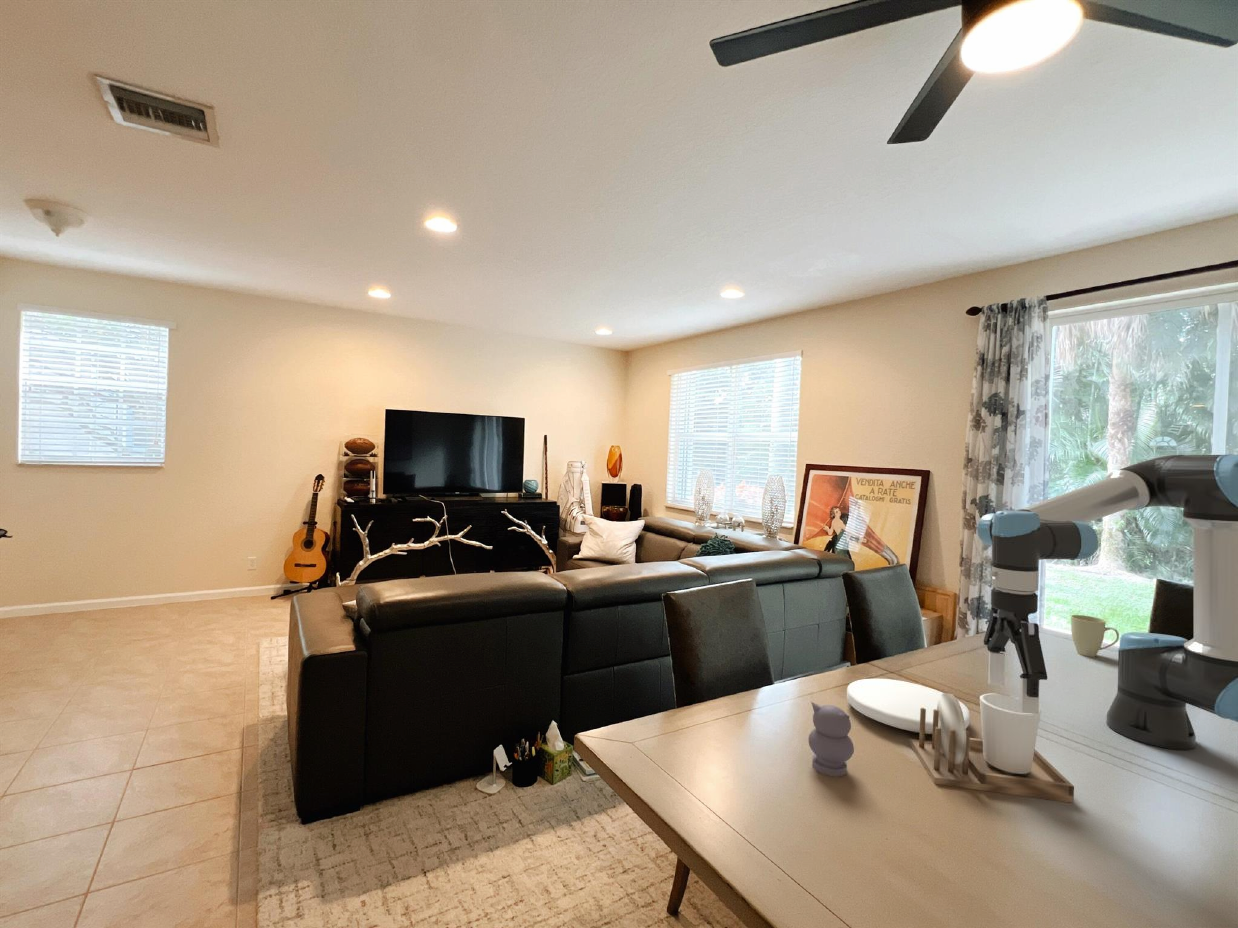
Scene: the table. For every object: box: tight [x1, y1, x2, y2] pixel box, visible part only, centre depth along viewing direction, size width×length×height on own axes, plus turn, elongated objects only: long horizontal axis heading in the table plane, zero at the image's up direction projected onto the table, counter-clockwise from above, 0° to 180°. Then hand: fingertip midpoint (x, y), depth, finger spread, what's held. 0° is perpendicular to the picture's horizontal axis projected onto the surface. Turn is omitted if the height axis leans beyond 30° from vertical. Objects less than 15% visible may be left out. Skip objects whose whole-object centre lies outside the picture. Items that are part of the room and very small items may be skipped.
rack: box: [909, 692, 1075, 803], centre depth 113 cm, size 23×15×14 cm
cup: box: [979, 693, 1042, 777], centre depth 112 cm, size 10×10×13 cm
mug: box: [1070, 614, 1120, 658], centre depth 189 cm, size 11×10×12 cm
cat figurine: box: [807, 701, 855, 777], centre depth 112 cm, size 8×8×12 cm
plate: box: [846, 678, 971, 735], centre depth 137 cm, size 28×6×27 cm
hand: (1011, 697), depth 112 cm, fingers open, 13 cm apart
